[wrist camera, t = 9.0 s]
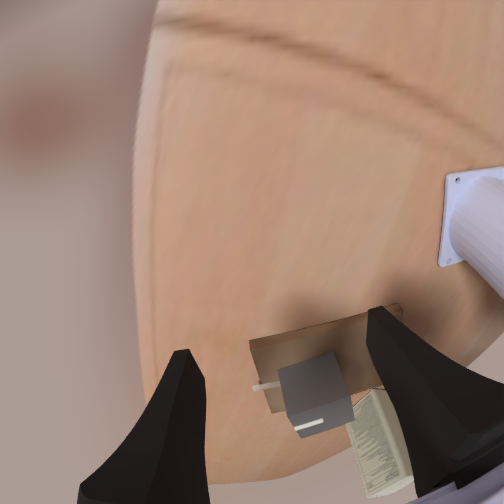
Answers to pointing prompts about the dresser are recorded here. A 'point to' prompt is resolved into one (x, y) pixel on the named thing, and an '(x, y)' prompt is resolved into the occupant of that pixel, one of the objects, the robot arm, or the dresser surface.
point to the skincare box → (379, 445)
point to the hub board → (318, 354)
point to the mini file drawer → (316, 395)
